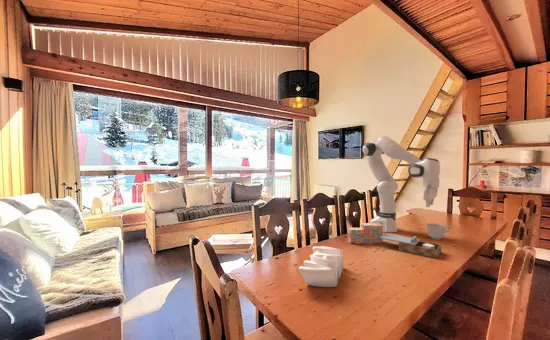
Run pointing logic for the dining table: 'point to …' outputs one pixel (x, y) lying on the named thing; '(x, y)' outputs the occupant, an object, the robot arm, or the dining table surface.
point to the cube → (428, 246)
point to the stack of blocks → (366, 233)
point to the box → (421, 249)
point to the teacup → (437, 230)
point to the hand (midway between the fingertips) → (429, 205)
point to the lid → (400, 239)
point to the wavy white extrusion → (323, 267)
